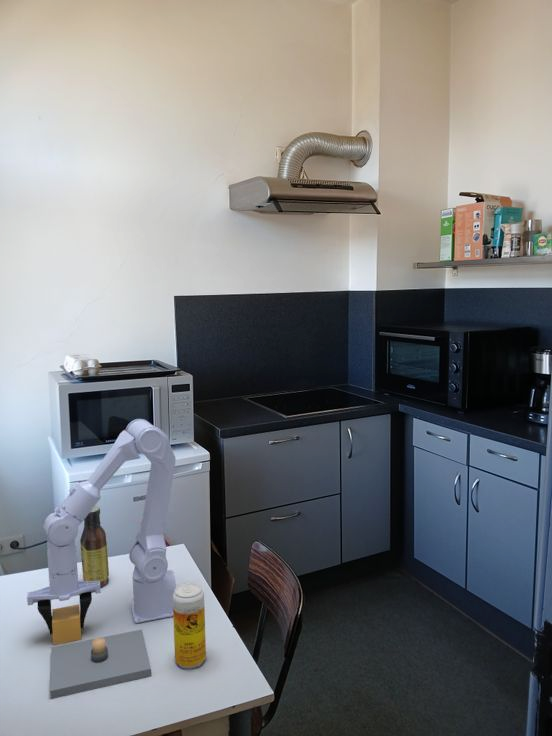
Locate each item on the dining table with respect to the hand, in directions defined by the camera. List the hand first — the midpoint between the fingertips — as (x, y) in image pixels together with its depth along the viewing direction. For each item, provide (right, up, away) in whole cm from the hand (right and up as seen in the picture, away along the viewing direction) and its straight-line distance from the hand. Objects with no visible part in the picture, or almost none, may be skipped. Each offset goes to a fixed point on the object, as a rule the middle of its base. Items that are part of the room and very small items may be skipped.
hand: (66, 628), depth 127 cm
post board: (+10, -3, -10) cm, 14 cm away
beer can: (+28, -3, -9) cm, 29 cm away
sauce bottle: (0, +1, +22) cm, 22 cm away
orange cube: (0, -1, 0) cm, 1 cm away
